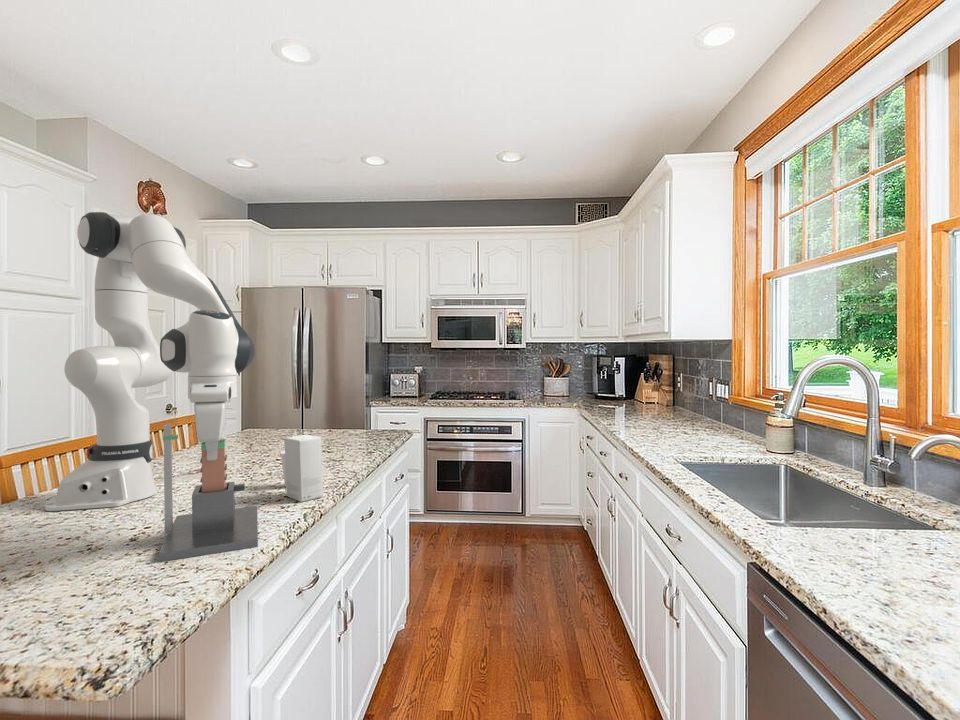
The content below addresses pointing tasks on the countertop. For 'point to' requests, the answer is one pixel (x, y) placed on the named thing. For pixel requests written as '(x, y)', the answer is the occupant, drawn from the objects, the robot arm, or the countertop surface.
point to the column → (214, 469)
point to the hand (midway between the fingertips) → (213, 456)
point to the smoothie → (283, 464)
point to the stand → (205, 518)
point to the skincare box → (303, 467)
